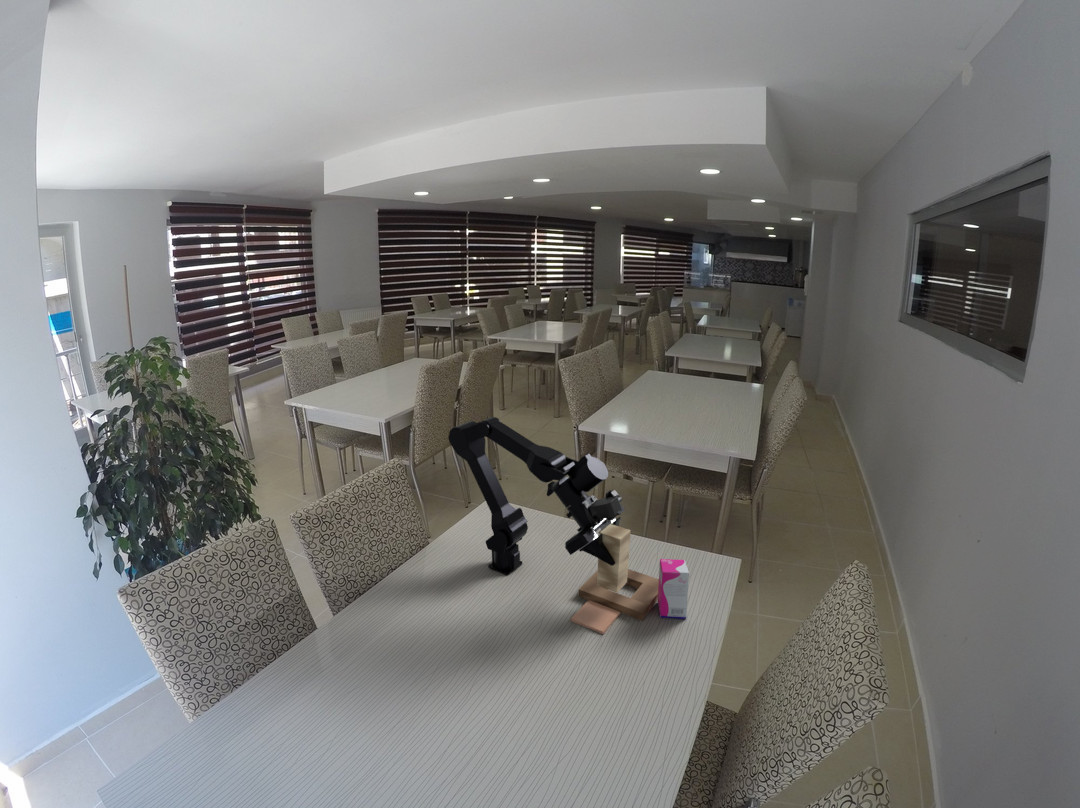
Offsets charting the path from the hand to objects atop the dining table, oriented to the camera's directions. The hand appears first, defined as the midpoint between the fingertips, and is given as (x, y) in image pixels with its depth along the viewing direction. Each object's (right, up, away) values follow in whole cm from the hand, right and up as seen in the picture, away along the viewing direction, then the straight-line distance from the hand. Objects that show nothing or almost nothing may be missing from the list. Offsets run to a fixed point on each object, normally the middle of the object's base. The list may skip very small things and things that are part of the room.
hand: (619, 559), depth 125 cm
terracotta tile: (-5, -13, 0) cm, 14 cm away
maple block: (-1, -6, +3) cm, 7 cm away
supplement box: (+12, -12, +2) cm, 18 cm away
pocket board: (+2, -10, +9) cm, 14 cm away
